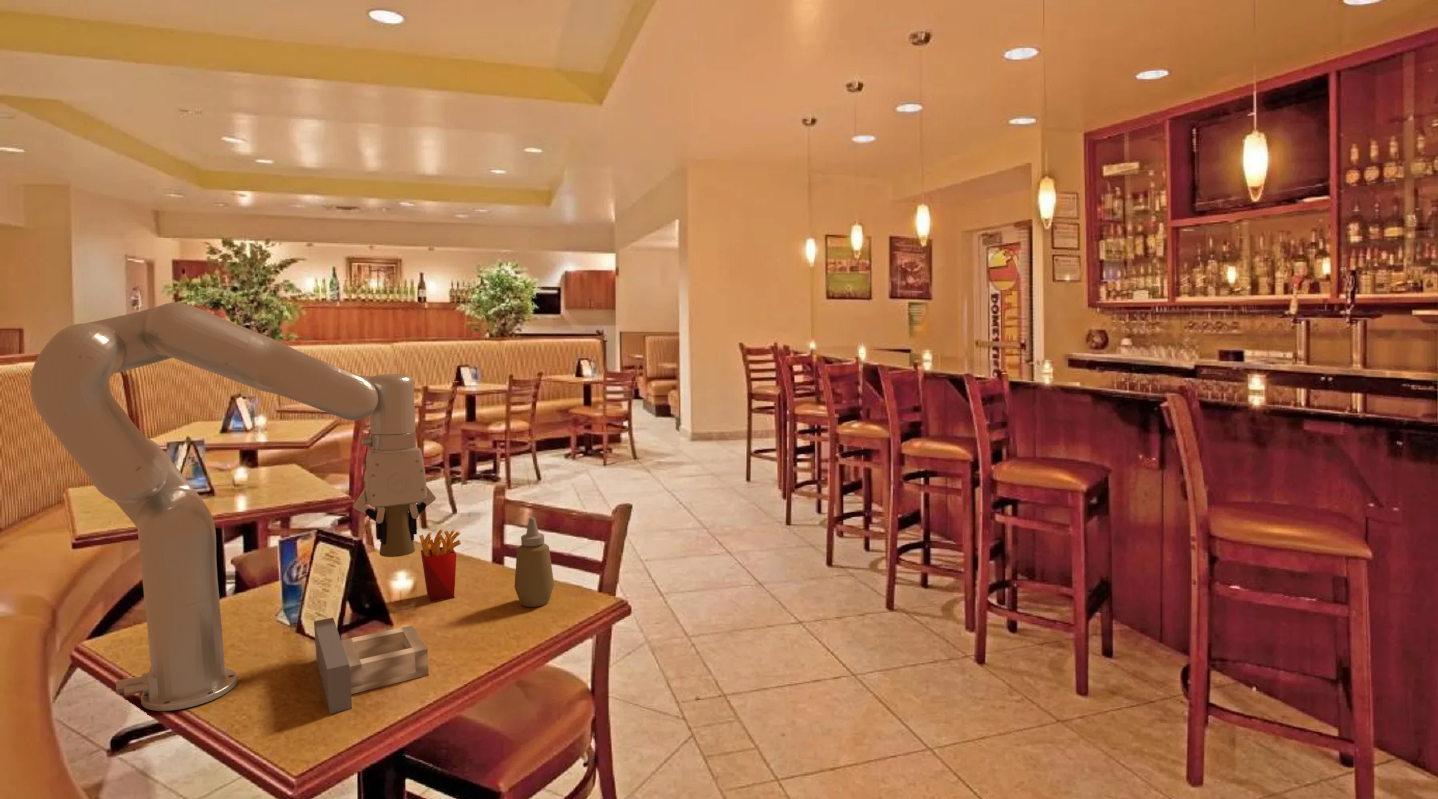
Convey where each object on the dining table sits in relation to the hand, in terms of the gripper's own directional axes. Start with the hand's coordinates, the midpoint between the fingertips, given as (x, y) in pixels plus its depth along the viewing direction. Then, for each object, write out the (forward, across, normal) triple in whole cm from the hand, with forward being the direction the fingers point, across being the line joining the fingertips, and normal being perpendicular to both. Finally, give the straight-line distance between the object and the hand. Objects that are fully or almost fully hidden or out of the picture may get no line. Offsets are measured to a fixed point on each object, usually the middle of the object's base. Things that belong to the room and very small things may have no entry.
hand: (396, 539), depth 139 cm
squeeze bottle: (+18, +27, +3) cm, 33 cm away
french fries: (+19, +13, +17) cm, 28 cm away
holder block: (+19, -5, -12) cm, 23 cm away
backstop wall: (+19, -13, -12) cm, 26 cm away
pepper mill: (+2, 0, 0) cm, 2 cm away
